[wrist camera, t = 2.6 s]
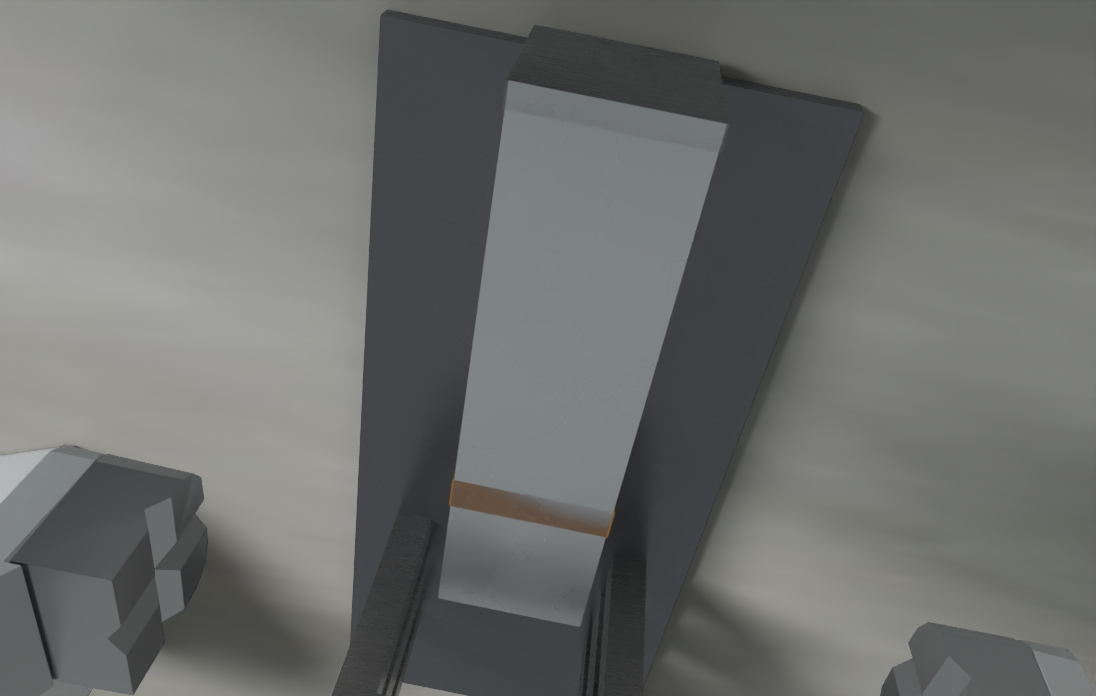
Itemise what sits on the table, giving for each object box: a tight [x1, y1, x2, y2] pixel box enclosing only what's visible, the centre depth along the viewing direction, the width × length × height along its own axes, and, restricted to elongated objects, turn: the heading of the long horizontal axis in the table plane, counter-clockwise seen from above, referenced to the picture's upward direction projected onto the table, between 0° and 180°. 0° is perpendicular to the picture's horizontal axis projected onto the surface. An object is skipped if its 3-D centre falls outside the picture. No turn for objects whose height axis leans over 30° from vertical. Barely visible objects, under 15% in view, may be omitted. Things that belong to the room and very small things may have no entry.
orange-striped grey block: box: [438, 25, 730, 627], centre depth 23 cm, size 16×4×4 cm, turn 171°
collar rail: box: [332, 10, 864, 696], centre depth 24 cm, size 27×12×11 cm, turn 171°
